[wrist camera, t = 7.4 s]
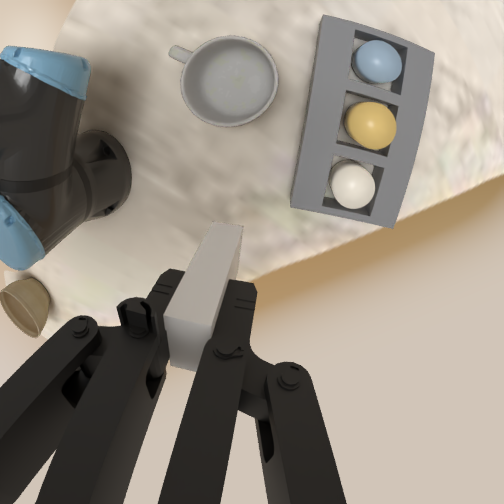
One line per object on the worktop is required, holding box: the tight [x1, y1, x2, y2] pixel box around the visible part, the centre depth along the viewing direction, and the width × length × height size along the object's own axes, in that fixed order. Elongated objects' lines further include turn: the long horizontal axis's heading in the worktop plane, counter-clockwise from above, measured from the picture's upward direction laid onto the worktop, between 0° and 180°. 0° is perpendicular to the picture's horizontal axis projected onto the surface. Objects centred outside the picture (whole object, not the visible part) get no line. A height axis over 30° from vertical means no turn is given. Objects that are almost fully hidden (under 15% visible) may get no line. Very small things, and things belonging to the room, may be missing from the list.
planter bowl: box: [0, 278, 50, 338], centre depth 55 cm, size 16×16×11 cm
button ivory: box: [329, 160, 375, 209], centre depth 35 cm, size 6×6×4 cm
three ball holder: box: [290, 15, 435, 229], centre depth 31 cm, size 15×26×4 cm, turn 173°
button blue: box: [351, 40, 402, 84], centre depth 26 cm, size 6×6×4 cm
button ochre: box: [344, 102, 396, 149], centre depth 28 cm, size 6×6×4 cm
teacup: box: [169, 36, 278, 127], centre depth 28 cm, size 14×11×8 cm
